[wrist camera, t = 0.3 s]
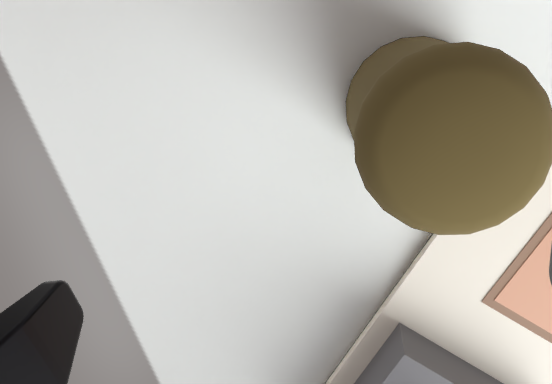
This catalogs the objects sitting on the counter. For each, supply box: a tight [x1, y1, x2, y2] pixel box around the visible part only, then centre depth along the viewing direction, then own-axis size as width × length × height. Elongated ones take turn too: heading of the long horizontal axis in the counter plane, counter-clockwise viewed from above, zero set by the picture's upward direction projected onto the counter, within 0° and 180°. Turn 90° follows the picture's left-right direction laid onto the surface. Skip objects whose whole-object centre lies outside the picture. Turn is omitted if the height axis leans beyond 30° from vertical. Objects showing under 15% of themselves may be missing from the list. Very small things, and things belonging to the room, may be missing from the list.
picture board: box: [325, 165, 552, 384], centre depth 24 cm, size 19×12×3 cm, turn 151°
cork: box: [346, 36, 552, 235], centre depth 18 cm, size 6×6×11 cm
